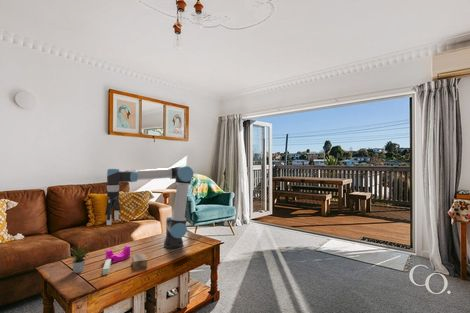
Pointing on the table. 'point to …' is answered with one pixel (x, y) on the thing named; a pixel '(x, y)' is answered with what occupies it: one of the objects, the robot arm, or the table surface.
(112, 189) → the robot arm
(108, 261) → the board
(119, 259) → the magenta arch bracket
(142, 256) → the walnut block
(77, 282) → the table surface
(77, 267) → the house plant
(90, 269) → the table surface
